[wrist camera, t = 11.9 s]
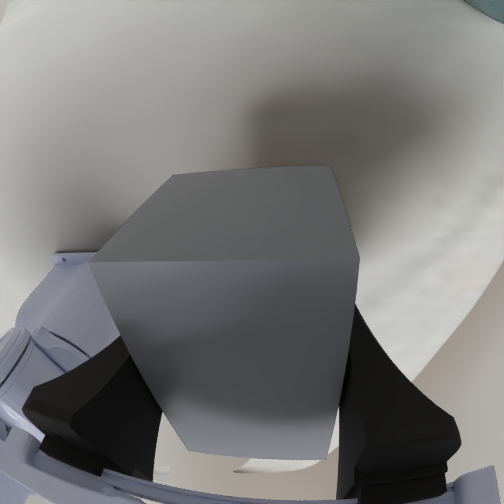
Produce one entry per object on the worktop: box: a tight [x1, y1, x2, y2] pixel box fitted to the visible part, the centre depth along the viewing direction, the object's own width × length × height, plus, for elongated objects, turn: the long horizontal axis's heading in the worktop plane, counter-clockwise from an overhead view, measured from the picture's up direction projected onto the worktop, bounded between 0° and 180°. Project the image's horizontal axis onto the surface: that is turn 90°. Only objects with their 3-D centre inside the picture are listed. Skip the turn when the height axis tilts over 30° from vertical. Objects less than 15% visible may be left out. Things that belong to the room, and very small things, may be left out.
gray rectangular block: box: [88, 165, 360, 460], centre depth 12 cm, size 6×10×6 cm, turn 6°
